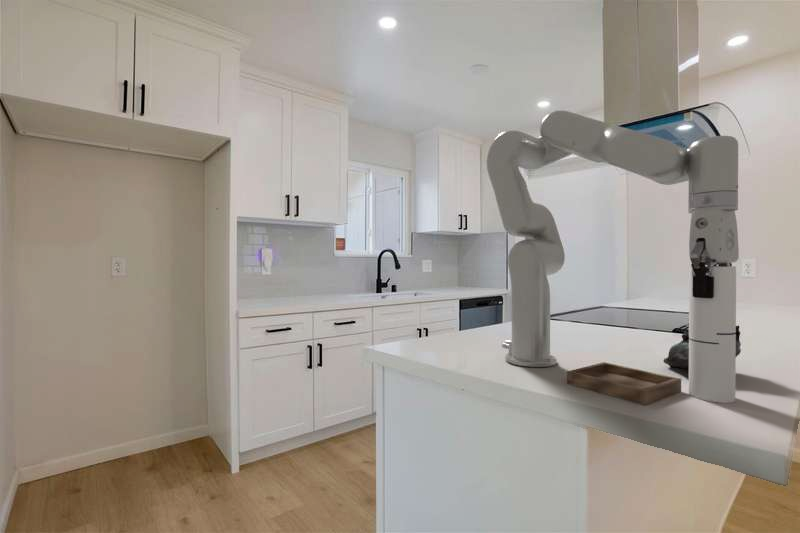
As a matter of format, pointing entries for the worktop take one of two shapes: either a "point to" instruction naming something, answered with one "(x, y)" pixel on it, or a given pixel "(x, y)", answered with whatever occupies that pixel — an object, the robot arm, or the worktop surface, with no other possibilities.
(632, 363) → the worktop surface
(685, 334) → the dark grey lumpy shape
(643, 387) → the walnut tray
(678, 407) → the worktop surface
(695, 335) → the cylindrical container
